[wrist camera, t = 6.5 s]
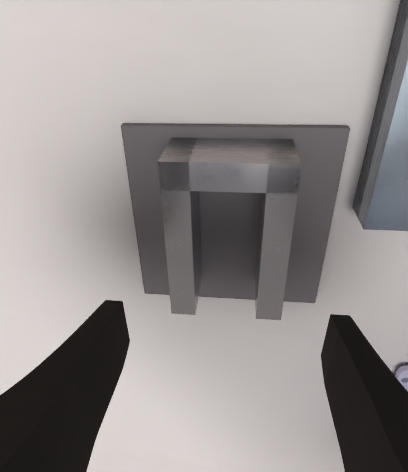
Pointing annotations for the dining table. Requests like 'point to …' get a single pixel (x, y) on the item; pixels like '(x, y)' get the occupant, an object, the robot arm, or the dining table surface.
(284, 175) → the gray tabletop stand
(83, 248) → the dining table surface
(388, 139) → the metal base with post
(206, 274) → the mat
